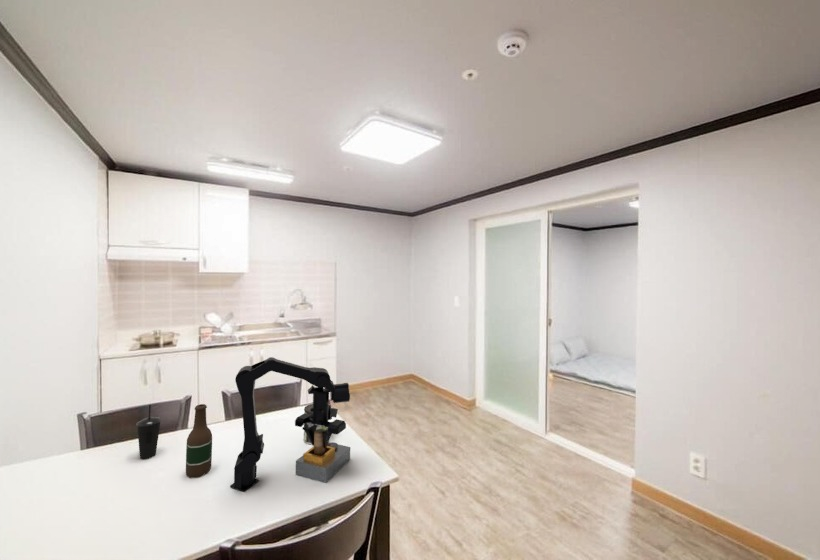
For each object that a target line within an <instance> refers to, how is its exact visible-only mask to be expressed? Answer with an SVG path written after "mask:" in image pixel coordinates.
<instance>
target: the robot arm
mask: <svg viewBox="0 0 820 560" xmlns="http://www.w3.org/2000/svg"><path fill="white" fill-rule="evenodd" d="M271 372H274V373H278V374H282V375H287V376H289V377H293V378H297V379H301V380H304V381H306V382H307V383H309V384H311V387H309V388H308V389H307V393H308V395H312V404H313V407H312V408H310V411H311V412H313V415H311V414H306V413H303V414H301V415H299V416H298V417H296V418H295V420H294V426H295V427H300V428H301V427H302V430H303V432H304V431H305V432H306V434H307V435H308V437H309V439H310V441H311V443H312V444H311V445H312V447H313V446H314V432H315V431H316V428H317V426H323V427H326V430H325V431H324V432H322V436H323V446H324V448H326V447H327V445H328V442H329V441H330V440H331V437H332V435H339V434H340V433H341V432H343V431H344V430H346V428H347V423H346V421H345V420H342V419H337V415H338V411H339V408H334V407H332V405H331V404H330V401H332V403H333V404H337V403H338V404H339V403H347V402H350V399H351V393H350V385H349V383H348V382H343V383H334V381H333V380H331V376H330V374H329V371H328V370H327V369H326V368H322V367H315V366H313V367H306V366H304V365H299V364H295V363H292V362H289V361H285V360H281V359H279V358H275V357H273V356H272V357H268V358H267V359H264V360H262V361H259V362H256V363H254V364H252V365H245V366H243V367H240V369H239V370H238V373H237V374H236V375H235V381H234V382H235V384H236V388H237V391H238V392H239V395H240V399H241V408H242V420H243V422H242V423H243V437H244V439H243V445H242V451H241V452H239V454H238V455H237V458H236V462H235V464H234V467H233V469H234V470H233V471H234V472H233V473H234V475H233V483H231V484H230V488H232V489H235V490H237V491H242V492H246V491H248V489H250V488H252V487H253V486H255V485H256V484H257V483H259V482H260V478H257V468H258V466H257V463H258V462H259V461H260V460H261V457H262V456H261V455H262V454H263V453H264V448H265V443H264V439H263V438H264V434H263V433H261V434H259V433H258V425H257V416H256V415H257V414H256V402H255V387H256V381H257V380H258V379H260V378H261V377H264V376H265V375H266V374H268V373H271ZM333 418H336V419H334V420H333ZM331 420H333V421H331Z"/></svg>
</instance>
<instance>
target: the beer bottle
mask: <svg viewBox="0 0 820 560" xmlns="http://www.w3.org/2000/svg"><path fill="white" fill-rule="evenodd" d="M207 406H208V405H207V404H204V403H201V404H197V405H195V406H194V421H193V426H192V429H191V431H190V433H189V434H188V436H187V438H186V449H185V452H186V453H185V475H186V476H187V477H188V478H189V479H192V478H193V479H194V478H201V477H202V476H205V475H206V474H207V475H208V473H209V472H210V470H211V469H212V460H213V459H212V458H213V457H212V456H213V434H212V431H211V428H209V427H208V424H207V423H208V422H207V408H208V407H207Z"/></svg>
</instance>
